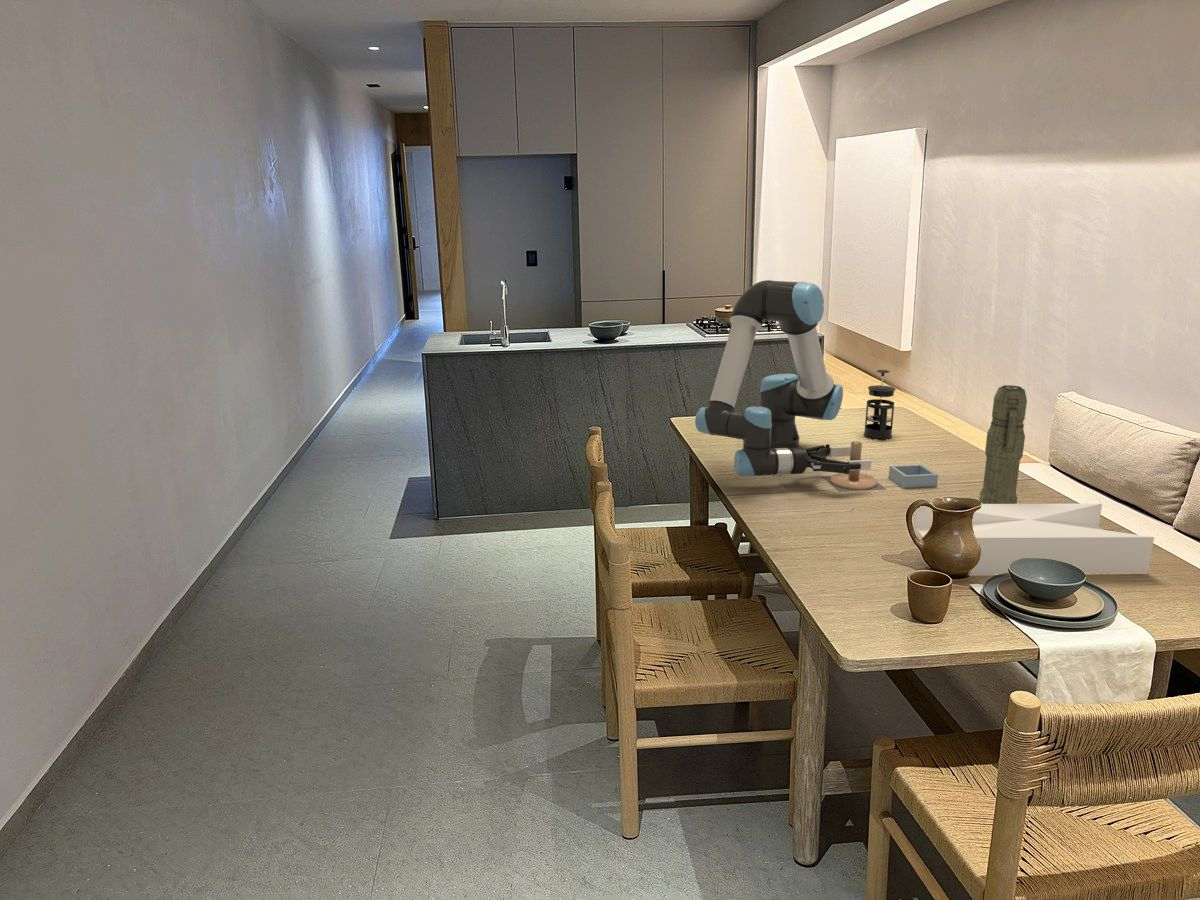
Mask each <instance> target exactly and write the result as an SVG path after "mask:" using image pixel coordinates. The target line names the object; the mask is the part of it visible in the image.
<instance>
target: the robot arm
mask: <svg viewBox="0 0 1200 900" xmlns="http://www.w3.org/2000/svg"><path fill="white" fill-rule="evenodd" d="M824 299H825V298H824V294H823V291H822V290H821V288H820V287H819V286H818V285H817V284H815V283H811V282H806V281H784V280H771V279H766V280H765V279H764V280H761V281H758V282H757V283H754V284H752V285H751V286H750V287H749V288H748V289H746V290H745V291H744V292H743V293H742V294H741V296H740V297H739V298H738V300H737V301H736V303H735V305H734V306H733V308H732V311H731V314H730V316H729V322H730V324H731V327H730V330H729V334H728V336H727V341H726V343H725V347H724V349H723V350H724V351H723V354H722V357H721V360H720V364H719V368H718V371H717V374H716V378H715V381H714V384H713V385H714V386H713V388H712V392H711V395H710V398H709V403H708V405H707V406H704V407H700V408H699V409H698V411H697V412H696V415H695V418H694V419H695V420H694V425H695V428H696V430H697V431H698V432H699V433H702V434H707V435H710V436H717V437H718V436H719V437H726V438H731V439H737V440H742V441H743V444H742V449H738V450H736V451H735V453H734V456H733V463H734V470H735V472H736V474H738V476H741V477H757V476H759V477H761V476H775V475H777V476H778V477H781V476H782V475H789V474H790V475H799V474H801V475H802V474H804V473H805V472H806V470H807V468H810V469H812V472H824V473H833V474H838V473H845V474H849V471H857V470H860V471H871V470H872V460H871V459H861V460H856V461H850V460H848V461H842V460H835V459H830V458H828V456H829V457H831V458H834V457H837V458H838V457H850V451H851V445H849V446H830V444H829V443H827V444H825V445H824V444H822V445H821V444H820V445H817V446H812V447H808V448H803V447H801V446H800V436H799V435H800V434H799V431H798V428H797V425H796V417H801V418H808V419H813V420H819V421H833V420H834V419H836V417H837V416H838V414H839V412H840V409H841V407H842V402H843V397H844V388H843V386H842V385H841V384H839V383H836V384H835V382H834V378H833V376H832V375H830V374H829V373H827V369H826V365H825V361H824V356H823V352H822V351H823V350H822V347H821V343H820V342H821V341H820V337H819V334H818V329H817V327H818V325H819V323H820V321H821V320H822V318H823V316H824V311H825V306H824V303H825V300H824ZM765 321H768V322H769V321H770V322H777V323H778V324H779V328H780V330H781V332H782V333H783V334H784V335H786V336H787V339H788V342H789V346H790V350H791V353H792V358H793V362H794V365H795V369H796V373H797V374H794V373H778V374H771V375H768V376H766V377H764V378H762V380H761V382H760V383H761V384H760V390H759V393H760V396H759V406H749V407H746V408H745V409H744V412H740V411H735V407H736V404H737V400H738V397H739V394H740V389H741V387H742V383H743V379H744V376H745V374H746V373H745V372H746V369H747V366H748V363H749V360H750V356H751V352H752V349H753V345H754V341H755V340H756V336H757V332H758V331H761V329H762V327H763V324H764V322H765Z"/></svg>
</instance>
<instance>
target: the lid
mask: <svg viewBox="0 0 1200 900" xmlns="http://www.w3.org/2000/svg"><path fill="white" fill-rule="evenodd" d="M850 446H851V451H850V456H849V461H856V460H862V459H861V458H862V448H863V443H862V442H861V441H858V440H857V441H855V440H853V441H851V443H850ZM860 471H861V470H857V471H849V474H845V473H833V474H832V475H830V476H831V479H830V482H831V483H832V484H833V485H835V486H837V487H840V488H844V489H851V490H866V491H868V490H867V489H872V488H874V487H876V486H877V482H878V480H877V478H875V477H874V476H872V475H870V474H867V473H861V472H860ZM866 474H867V475H866Z"/></svg>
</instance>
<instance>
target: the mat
mask: <svg viewBox="0 0 1200 900" xmlns="http://www.w3.org/2000/svg"><path fill="white" fill-rule="evenodd" d="M865 474H866V475H868V473H865ZM831 476H832V475H825V476H821V478H822V479H824V480H825V481H826V482H827V483H828V484H830V485H831V486H832V487H833V488H834V489H835V490H836V491H837V492H840V493H843V492H861V491H862V492H863V491H881V490H882V491H883V490H884V491H885V490H887V488H886V487H884V486H883V485H882V484H881V483H879V482H878V481H877V486H876V487H874V488H872V489H867V490H851V489H844V488H840V487H837V486H835V485H833V484H832V483H831V482H830V479H831Z"/></svg>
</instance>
